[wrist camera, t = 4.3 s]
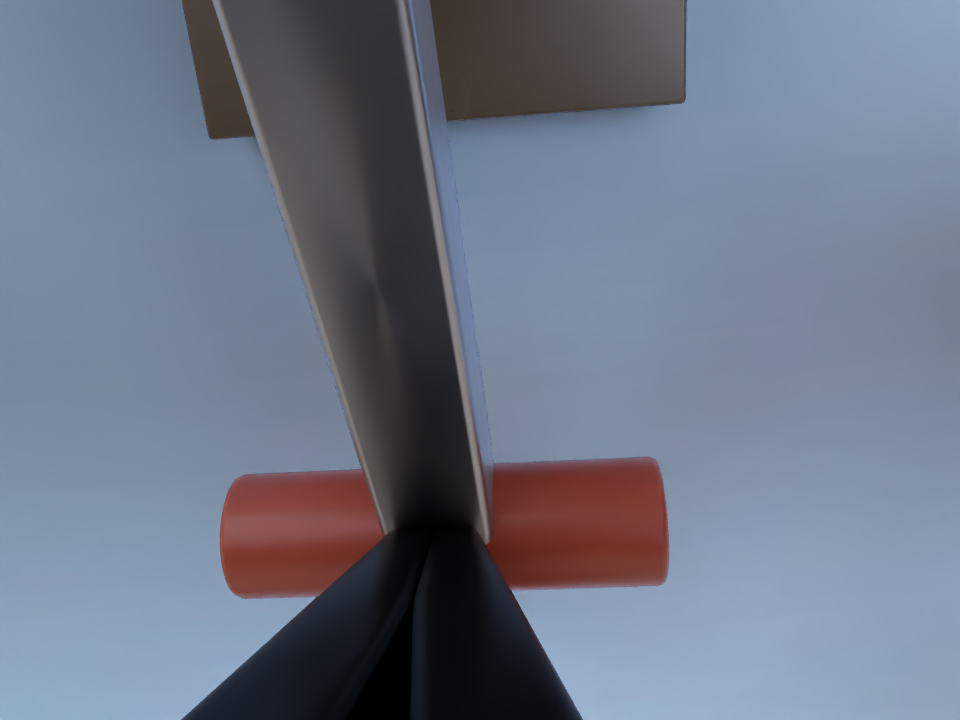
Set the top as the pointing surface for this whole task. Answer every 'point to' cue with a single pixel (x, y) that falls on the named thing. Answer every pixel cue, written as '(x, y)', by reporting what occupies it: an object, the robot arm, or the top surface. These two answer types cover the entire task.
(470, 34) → the brown lever stand
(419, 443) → the handle
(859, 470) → the top surface
